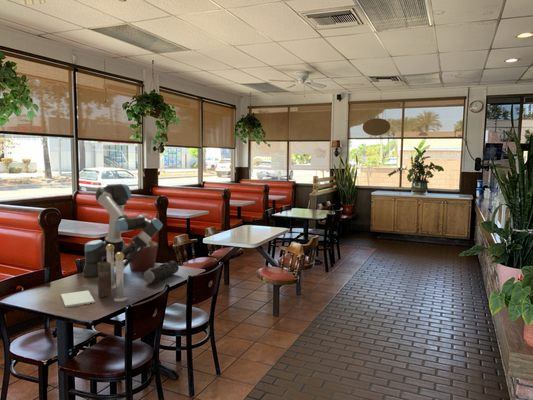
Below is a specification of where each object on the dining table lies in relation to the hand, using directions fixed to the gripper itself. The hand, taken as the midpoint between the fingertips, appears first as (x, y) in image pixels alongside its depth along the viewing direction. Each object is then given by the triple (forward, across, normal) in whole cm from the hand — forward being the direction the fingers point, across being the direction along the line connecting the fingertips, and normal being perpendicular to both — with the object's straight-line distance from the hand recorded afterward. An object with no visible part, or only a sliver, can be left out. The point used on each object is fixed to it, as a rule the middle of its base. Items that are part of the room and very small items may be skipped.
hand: (117, 267), depth 251 cm
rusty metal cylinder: (+17, +1, -7) cm, 18 cm away
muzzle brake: (-11, +17, -35) cm, 40 cm away
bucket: (-9, +49, -32) cm, 60 cm away
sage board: (+27, +1, +4) cm, 28 cm away
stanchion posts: (+12, +1, -11) cm, 16 cm away
